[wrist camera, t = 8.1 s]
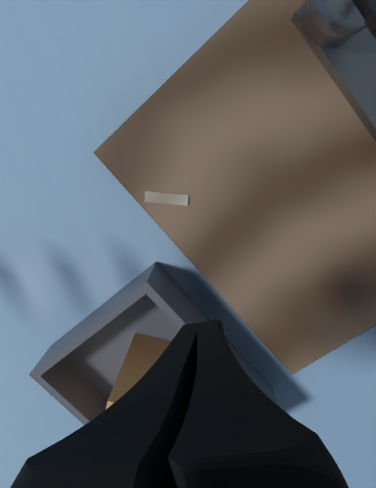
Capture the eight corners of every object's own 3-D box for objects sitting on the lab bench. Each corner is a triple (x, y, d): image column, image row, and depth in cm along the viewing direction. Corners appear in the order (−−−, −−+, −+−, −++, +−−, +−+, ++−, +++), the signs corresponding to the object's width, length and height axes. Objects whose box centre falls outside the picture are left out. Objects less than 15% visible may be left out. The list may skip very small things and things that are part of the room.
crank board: (534, 215, 19) (553, 220, 18) (288, 364, 23) (291, 375, 22) (347, -90, 15) (356, -106, 14) (99, 151, 20) (92, 152, 19)
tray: (272, 389, 24) (280, 424, 21) (165, 453, 26) (158, 492, 23) (156, 261, 21) (146, 282, 19) (51, 345, 24) (28, 374, 21)
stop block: (202, 350, 22) (197, 424, 17) (185, 403, 24) (175, 488, 18) (135, 332, 22) (107, 401, 17) (123, 386, 24) (93, 466, 18)
